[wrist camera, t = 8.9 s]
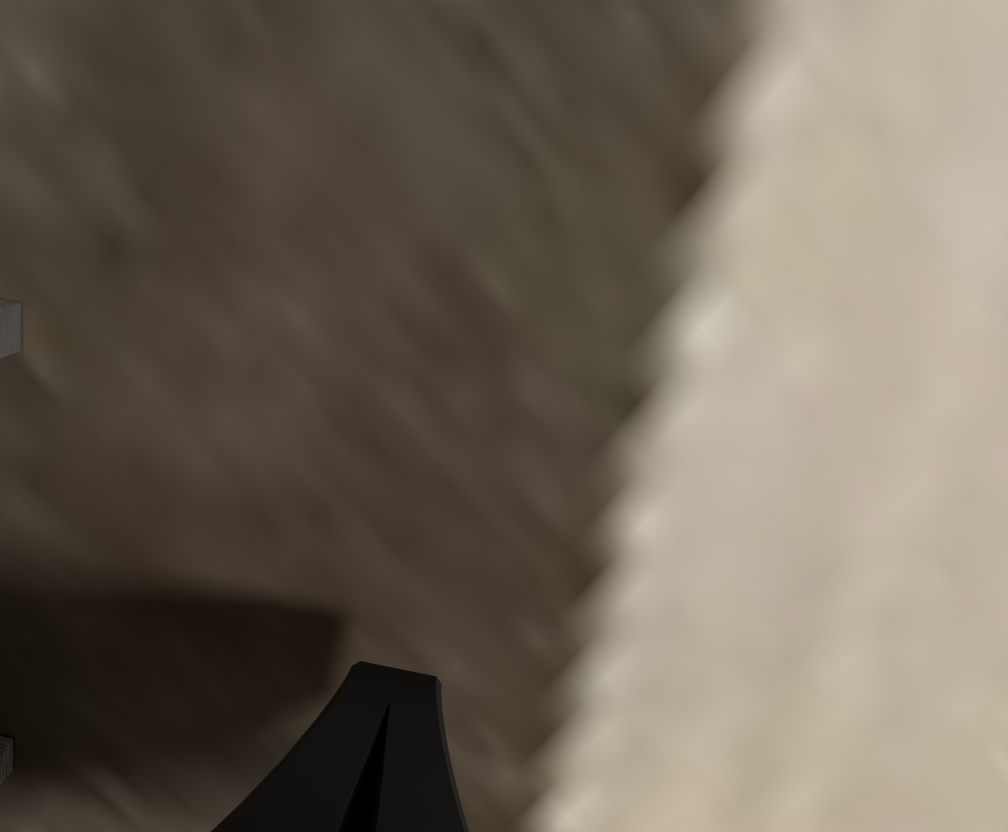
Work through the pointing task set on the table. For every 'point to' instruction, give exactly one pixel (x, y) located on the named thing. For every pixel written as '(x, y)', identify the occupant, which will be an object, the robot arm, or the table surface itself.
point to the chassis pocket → (3, 339)
